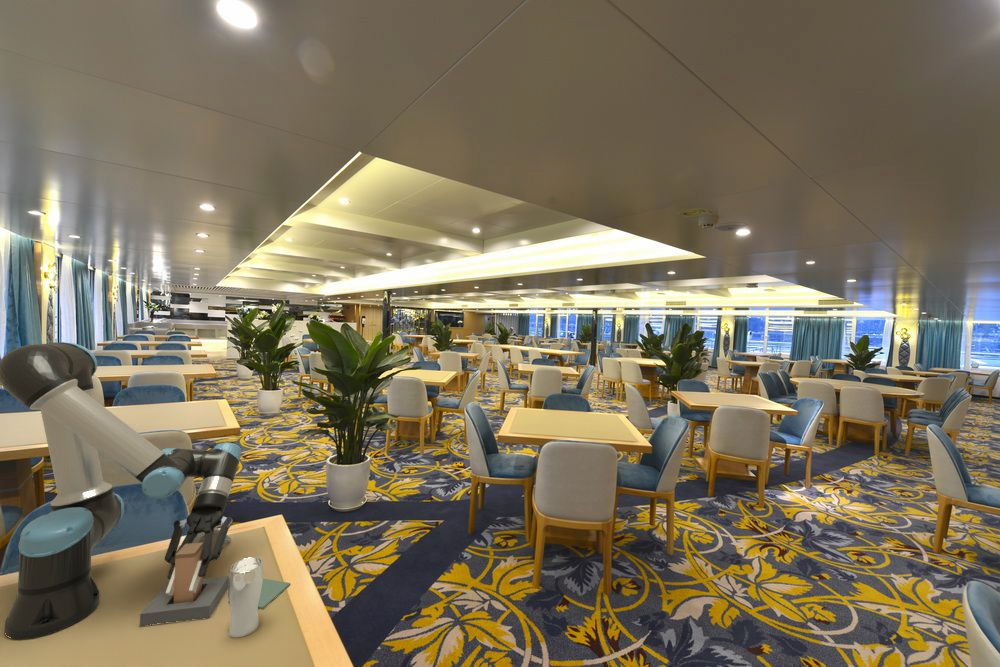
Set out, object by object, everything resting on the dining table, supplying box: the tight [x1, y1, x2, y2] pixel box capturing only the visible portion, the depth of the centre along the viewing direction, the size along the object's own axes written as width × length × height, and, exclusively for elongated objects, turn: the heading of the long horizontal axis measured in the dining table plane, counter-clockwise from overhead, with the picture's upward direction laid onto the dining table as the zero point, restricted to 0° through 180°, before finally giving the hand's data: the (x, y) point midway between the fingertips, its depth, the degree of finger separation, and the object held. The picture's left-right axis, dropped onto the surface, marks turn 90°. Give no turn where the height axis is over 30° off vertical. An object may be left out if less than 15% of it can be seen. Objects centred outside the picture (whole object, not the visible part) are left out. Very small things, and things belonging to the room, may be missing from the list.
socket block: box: [139, 575, 229, 627], centre depth 102 cm, size 14×12×3 cm
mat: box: [228, 578, 291, 610], centre depth 107 cm, size 10×10×1 cm
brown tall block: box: [174, 542, 203, 604], centre depth 102 cm, size 4×5×14 cm
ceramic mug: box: [192, 526, 232, 553], centre depth 128 cm, size 11×8×8 cm
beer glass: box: [227, 556, 264, 639], centre depth 95 cm, size 7×7×15 cm
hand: (180, 592), depth 98 cm, fingers closed on brown tall block, 4 cm apart
